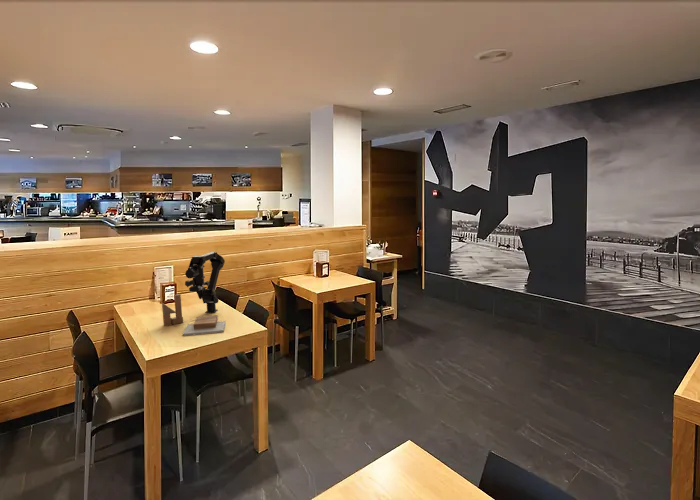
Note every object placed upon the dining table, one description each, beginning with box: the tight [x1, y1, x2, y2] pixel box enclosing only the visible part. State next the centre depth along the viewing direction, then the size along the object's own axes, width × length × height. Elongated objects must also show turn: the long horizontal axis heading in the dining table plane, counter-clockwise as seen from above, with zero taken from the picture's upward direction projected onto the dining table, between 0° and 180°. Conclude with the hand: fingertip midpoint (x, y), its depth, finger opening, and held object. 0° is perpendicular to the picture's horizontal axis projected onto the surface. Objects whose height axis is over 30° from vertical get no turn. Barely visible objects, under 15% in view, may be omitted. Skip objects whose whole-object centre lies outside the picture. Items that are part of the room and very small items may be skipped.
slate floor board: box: [182, 320, 227, 337], centre depth 236 cm, size 18×22×1 cm
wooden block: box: [161, 293, 184, 327], centre depth 245 cm, size 4×11×18 cm, turn 127°
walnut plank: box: [193, 315, 219, 329], centre depth 240 cm, size 3×12×14 cm
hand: (200, 299), depth 258 cm, fingers closed
